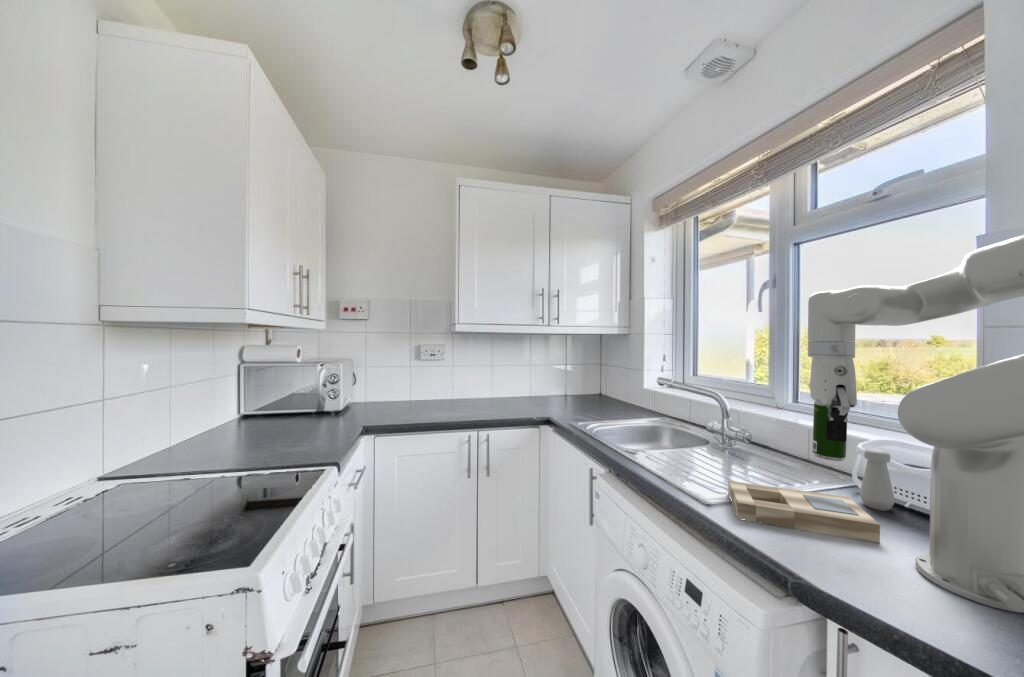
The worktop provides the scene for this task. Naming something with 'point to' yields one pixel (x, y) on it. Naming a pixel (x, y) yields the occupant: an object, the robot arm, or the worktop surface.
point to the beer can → (820, 443)
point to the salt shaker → (877, 481)
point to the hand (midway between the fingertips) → (829, 435)
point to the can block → (803, 511)
